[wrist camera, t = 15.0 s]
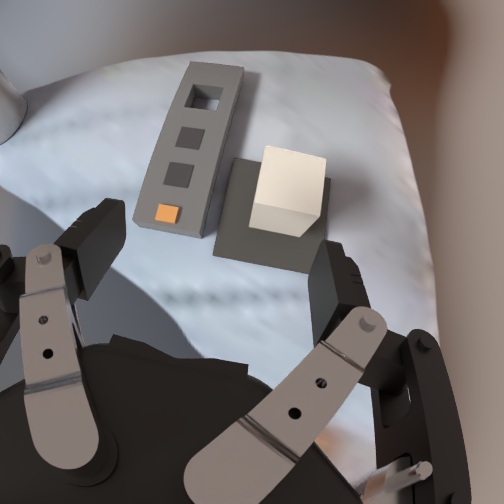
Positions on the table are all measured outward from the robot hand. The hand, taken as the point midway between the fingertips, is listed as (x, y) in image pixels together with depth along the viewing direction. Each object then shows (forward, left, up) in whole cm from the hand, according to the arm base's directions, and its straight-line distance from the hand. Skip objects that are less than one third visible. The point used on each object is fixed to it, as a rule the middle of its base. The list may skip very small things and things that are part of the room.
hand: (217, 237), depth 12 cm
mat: (+4, +8, -19) cm, 21 cm away
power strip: (-7, +15, -19) cm, 25 cm away
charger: (+4, +8, -18) cm, 20 cm away
